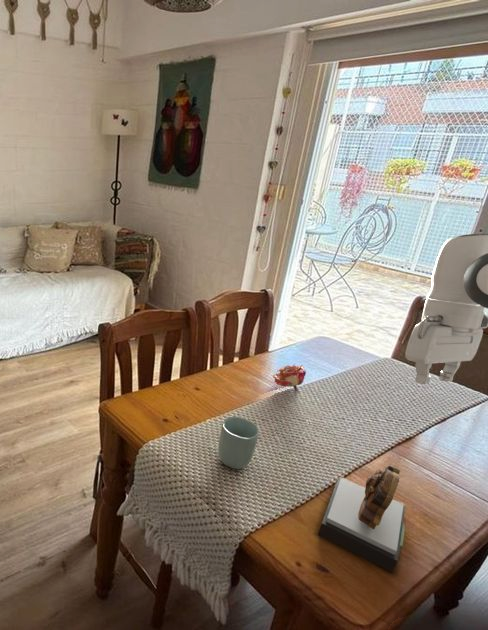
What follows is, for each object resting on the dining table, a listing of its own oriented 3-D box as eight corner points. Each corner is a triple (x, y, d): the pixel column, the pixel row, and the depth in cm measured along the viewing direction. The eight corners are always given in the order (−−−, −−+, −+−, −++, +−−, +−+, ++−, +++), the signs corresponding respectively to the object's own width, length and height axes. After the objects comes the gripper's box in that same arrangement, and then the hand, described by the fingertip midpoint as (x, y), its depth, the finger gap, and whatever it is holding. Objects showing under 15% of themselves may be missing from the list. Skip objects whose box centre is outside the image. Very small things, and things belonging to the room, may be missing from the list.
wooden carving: (360, 483, 92) (374, 444, 88) (386, 493, 89) (402, 454, 86) (350, 535, 80) (367, 493, 76) (380, 549, 77) (398, 507, 73)
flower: (315, 385, 132) (305, 359, 133) (307, 391, 125) (297, 364, 126) (282, 391, 138) (274, 367, 139) (273, 398, 131) (264, 372, 132)
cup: (246, 479, 98) (255, 443, 94) (211, 465, 101) (218, 430, 97) (253, 459, 104) (262, 424, 100) (220, 446, 107) (227, 412, 103)
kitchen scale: (403, 518, 89) (410, 503, 87) (395, 574, 77) (403, 558, 76) (334, 487, 96) (339, 473, 94) (317, 534, 84) (323, 519, 83)
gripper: (443, 318, 80) (425, 390, 82) (493, 319, 89) (475, 384, 92) (405, 312, 85) (388, 379, 88) (456, 313, 95) (440, 374, 97)
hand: (433, 382), depth 90 cm, fingers open, 8 cm apart
